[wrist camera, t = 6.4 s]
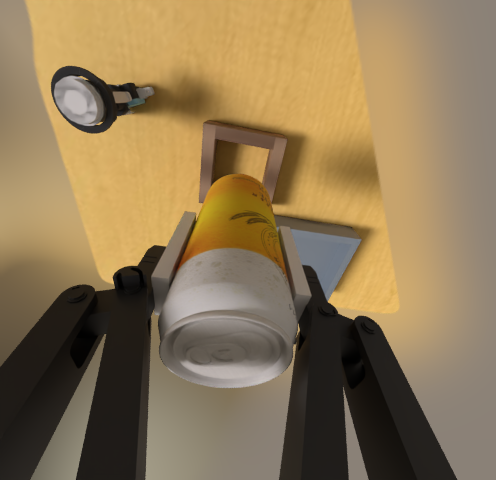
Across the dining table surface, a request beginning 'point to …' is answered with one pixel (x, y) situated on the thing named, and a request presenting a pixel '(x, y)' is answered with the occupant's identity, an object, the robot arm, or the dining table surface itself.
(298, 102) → the dining table surface
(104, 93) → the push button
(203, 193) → the collar holder
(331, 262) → the tray
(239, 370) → the beer can
